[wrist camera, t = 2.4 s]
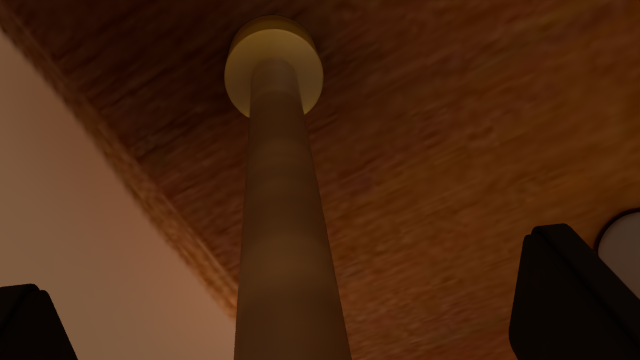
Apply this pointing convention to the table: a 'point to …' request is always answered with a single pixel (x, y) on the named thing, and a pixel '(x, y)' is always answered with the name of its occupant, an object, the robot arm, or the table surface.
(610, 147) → the table surface
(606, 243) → the beverage can
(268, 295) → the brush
